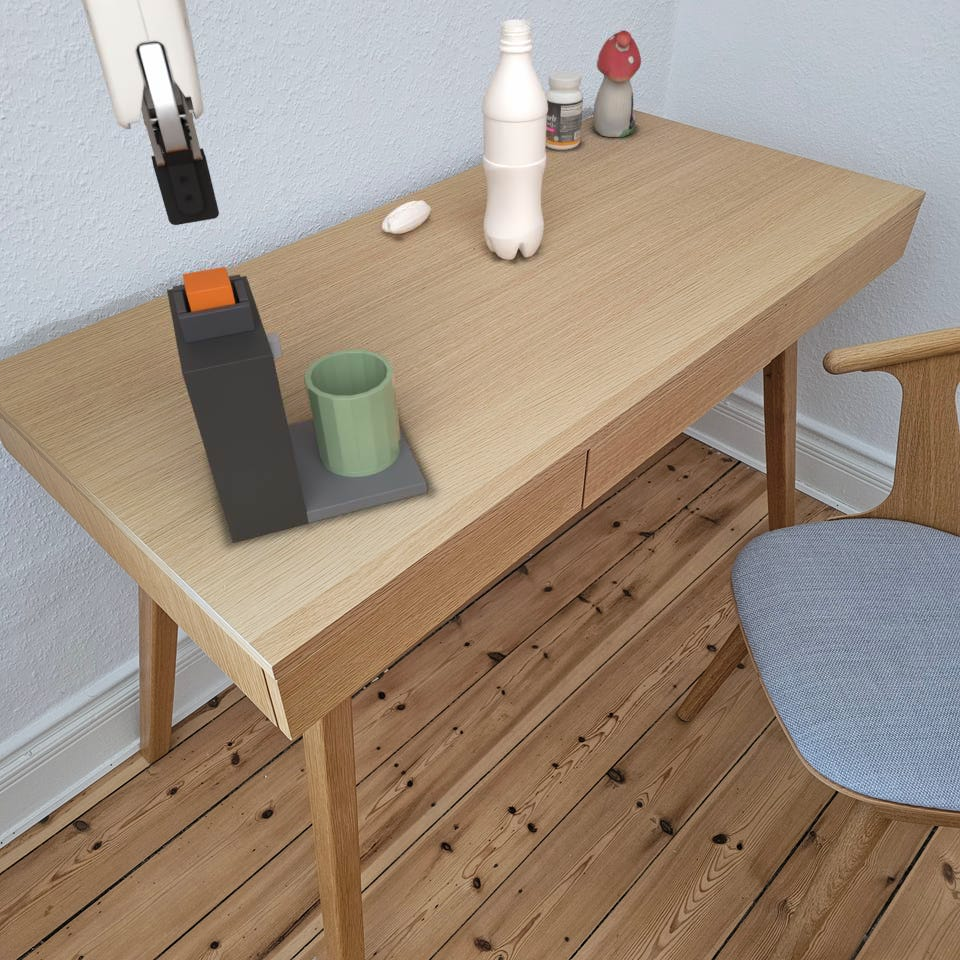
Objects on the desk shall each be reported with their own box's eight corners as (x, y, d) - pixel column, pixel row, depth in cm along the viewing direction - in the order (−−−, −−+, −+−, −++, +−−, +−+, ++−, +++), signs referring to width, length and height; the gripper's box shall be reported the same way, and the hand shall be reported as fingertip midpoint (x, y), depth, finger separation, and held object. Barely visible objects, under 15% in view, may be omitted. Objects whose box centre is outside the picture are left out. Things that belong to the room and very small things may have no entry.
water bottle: (508, 232, 107) (509, 10, 90) (554, 248, 103) (565, 21, 87) (471, 253, 103) (466, 25, 86) (518, 270, 99) (522, 36, 83)
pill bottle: (536, 141, 130) (537, 72, 124) (568, 135, 132) (572, 66, 125) (554, 153, 126) (556, 83, 120) (587, 147, 128) (591, 77, 122)
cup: (328, 485, 70) (314, 407, 64) (311, 436, 74) (296, 359, 69) (410, 465, 71) (403, 387, 66) (388, 418, 76) (379, 342, 71)
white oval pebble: (379, 236, 107) (376, 215, 105) (418, 213, 111) (416, 192, 110) (398, 242, 105) (396, 221, 103) (437, 219, 110) (436, 198, 108)
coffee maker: (232, 543, 66) (174, 347, 55) (213, 452, 75) (159, 265, 63) (427, 493, 70) (412, 300, 59) (388, 412, 79) (368, 229, 67)
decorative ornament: (626, 143, 129) (636, 35, 119) (584, 138, 131) (591, 31, 121) (640, 123, 135) (651, 19, 126) (600, 118, 137) (608, 16, 127)
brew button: (194, 322, 59) (186, 293, 57) (189, 301, 61) (182, 273, 59) (237, 313, 60) (231, 285, 58) (232, 294, 62) (225, 266, 60)
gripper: (31, -133, 48) (128, 184, 60) (22, -96, 38) (142, 279, 50) (167, -142, 50) (235, 167, 62) (195, -109, 39) (270, 255, 52)
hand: (194, 216), depth 56 cm, fingers closed
